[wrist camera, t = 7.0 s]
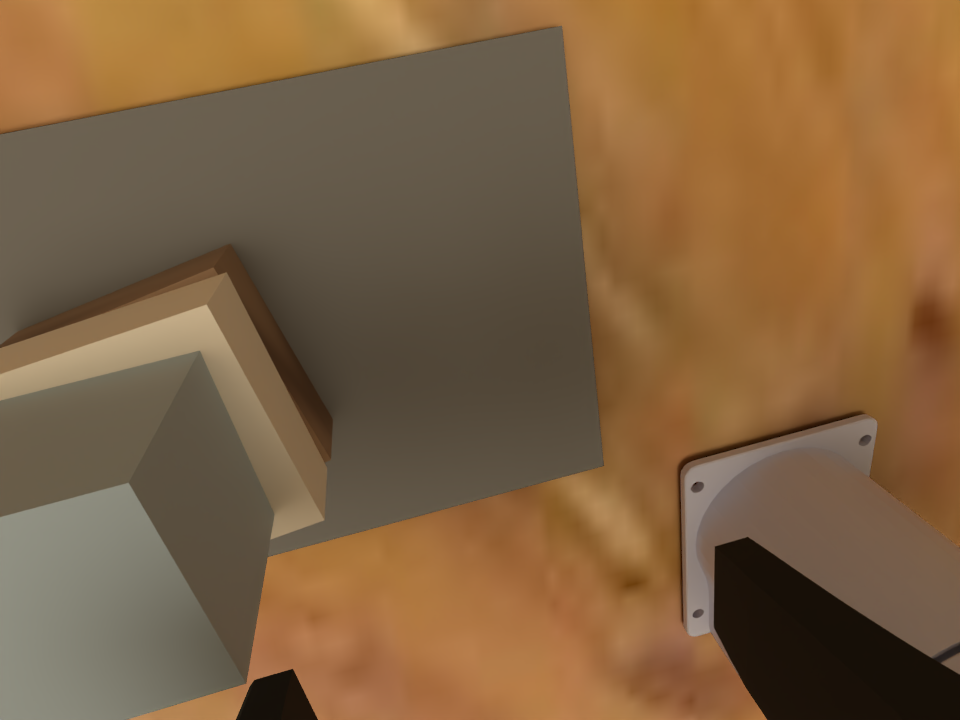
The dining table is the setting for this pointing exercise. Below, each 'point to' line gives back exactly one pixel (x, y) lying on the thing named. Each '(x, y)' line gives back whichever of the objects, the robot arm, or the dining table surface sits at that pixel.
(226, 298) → the cream slab
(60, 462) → the gray cube
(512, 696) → the dining table surface
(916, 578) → the robot arm
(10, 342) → the walnut slab
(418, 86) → the felt mat
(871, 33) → the dining table surface
